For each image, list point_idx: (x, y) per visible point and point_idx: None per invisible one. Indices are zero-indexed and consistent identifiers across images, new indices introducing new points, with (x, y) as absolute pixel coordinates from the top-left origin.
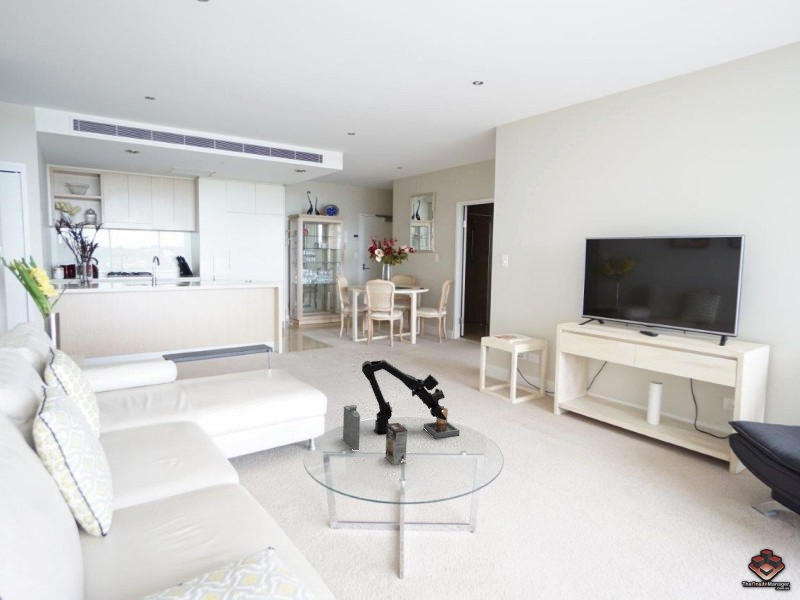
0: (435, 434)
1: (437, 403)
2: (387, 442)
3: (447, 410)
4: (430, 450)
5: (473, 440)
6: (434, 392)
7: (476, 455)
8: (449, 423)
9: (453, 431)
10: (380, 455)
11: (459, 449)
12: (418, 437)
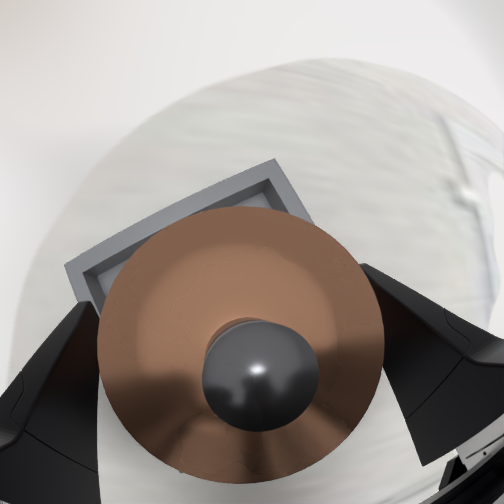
0: None
1: (12, 468)
2: None
3: (301, 218)
4: None
5: (320, 108)
6: None
7: (460, 146)
8: (122, 236)
9: (305, 211)
10: None
11: (445, 207)
12: (340, 462)
